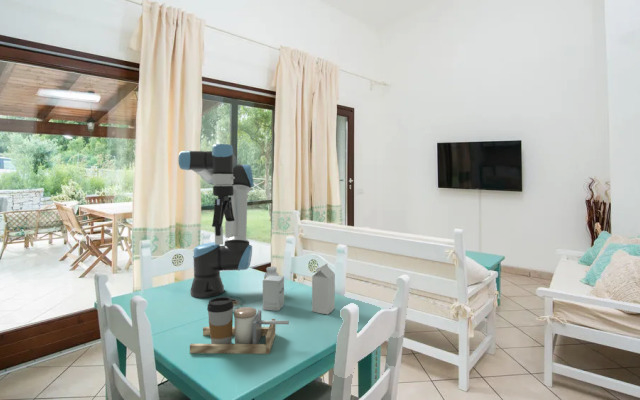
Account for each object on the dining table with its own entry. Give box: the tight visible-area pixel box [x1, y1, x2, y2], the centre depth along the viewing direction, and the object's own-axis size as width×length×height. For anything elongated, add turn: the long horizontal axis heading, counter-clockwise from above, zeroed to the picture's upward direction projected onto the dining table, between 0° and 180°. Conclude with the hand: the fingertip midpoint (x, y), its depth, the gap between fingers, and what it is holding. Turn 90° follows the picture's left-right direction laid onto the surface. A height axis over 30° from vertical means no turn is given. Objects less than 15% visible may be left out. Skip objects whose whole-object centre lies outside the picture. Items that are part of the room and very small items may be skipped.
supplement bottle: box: [263, 266, 280, 280], centre depth 163 cm, size 7×7×13 cm
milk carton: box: [311, 263, 336, 315], centre depth 144 cm, size 7×7×19 cm
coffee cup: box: [206, 296, 234, 344], centre depth 115 cm, size 8×8×15 cm
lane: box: [189, 318, 276, 355], centre depth 117 cm, size 25×13×6 cm, turn 90°
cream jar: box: [233, 306, 258, 344], centre depth 117 cm, size 7×7×11 cm
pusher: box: [253, 309, 290, 344], centre depth 116 cm, size 11×10×9 cm
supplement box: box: [262, 275, 285, 312], centre depth 148 cm, size 7×7×13 cm
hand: (224, 240), depth 134 cm, fingers open, 13 cm apart
